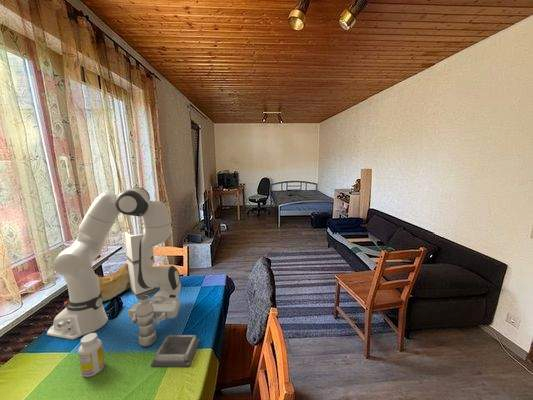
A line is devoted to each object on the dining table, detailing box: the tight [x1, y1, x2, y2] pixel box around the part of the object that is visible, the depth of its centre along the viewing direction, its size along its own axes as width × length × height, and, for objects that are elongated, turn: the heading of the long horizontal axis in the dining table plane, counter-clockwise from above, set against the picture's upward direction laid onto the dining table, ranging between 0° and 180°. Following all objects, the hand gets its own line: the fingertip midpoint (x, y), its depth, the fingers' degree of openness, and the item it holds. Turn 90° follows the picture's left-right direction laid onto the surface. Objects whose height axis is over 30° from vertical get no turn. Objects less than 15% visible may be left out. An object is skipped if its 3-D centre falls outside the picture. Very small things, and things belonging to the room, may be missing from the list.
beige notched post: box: [124, 228, 157, 299], centre depth 136 cm, size 11×11×35 cm
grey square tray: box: [150, 334, 201, 368], centre depth 92 cm, size 14×13×3 cm
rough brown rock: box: [98, 263, 130, 303], centre depth 136 cm, size 23×17×15 cm
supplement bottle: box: [77, 332, 105, 378], centre depth 84 cm, size 7×7×13 cm
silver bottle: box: [136, 294, 157, 348], centre depth 96 cm, size 6×7×20 cm
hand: (144, 322), depth 95 cm, fingers open, 8 cm apart
